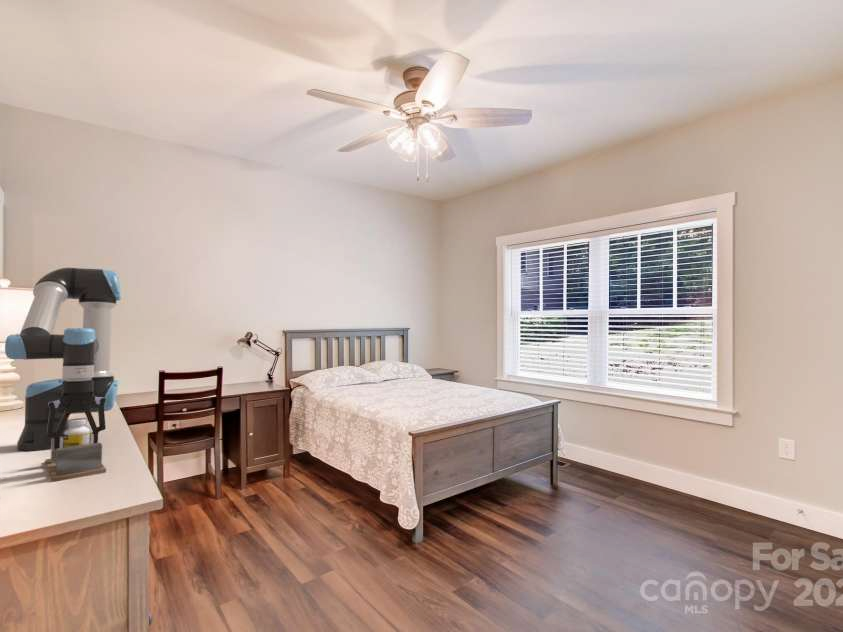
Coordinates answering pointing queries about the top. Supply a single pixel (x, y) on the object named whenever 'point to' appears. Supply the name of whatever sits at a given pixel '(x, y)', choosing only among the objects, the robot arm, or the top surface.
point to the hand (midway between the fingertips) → (75, 457)
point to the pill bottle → (76, 433)
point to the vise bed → (76, 462)
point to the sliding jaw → (53, 452)
